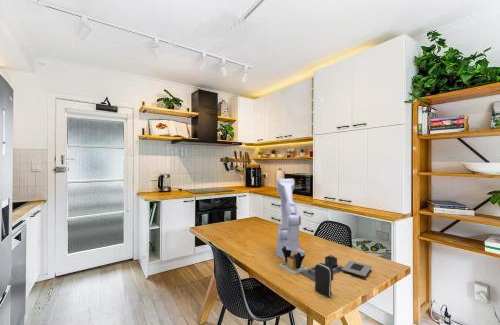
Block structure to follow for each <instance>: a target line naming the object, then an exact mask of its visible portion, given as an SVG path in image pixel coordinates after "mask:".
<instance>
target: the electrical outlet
mask: <svg viewBox="0 0 500 325" xmlns="http://www.w3.org/2000/svg"><path fill="white" fill-rule="evenodd" d="M342 267H343V268H342V269H341V270H342V271H341V272H345V273H347V274H348V273H349V274H351V275H355V276H358V277H362V278H365V277H366V276H367V275H368V273H369V272H370V271H371V269H372V267H373V265H368V264H365V263H361V262H358V261H353V260H348V262H346V263H345V265H343V266H342Z"/></svg>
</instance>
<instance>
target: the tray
mask: <svg viewBox="0 0 500 325" xmlns="http://www.w3.org/2000/svg"><path fill="white" fill-rule="evenodd" d="M278 266H279V267H280V268H282V269H284V270H286V271H287V272H289V273H290V274H292V275H296V274H300V273H302V272H304V271H307V270H308V267H307V266H304V265H303V264H301V267H300V268H299V269H295V270H291V269H290V268H288V267H287V263H286V261H285V262H282V263H279V264H278Z"/></svg>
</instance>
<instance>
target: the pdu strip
mask: <svg viewBox="0 0 500 325" xmlns="http://www.w3.org/2000/svg"><path fill="white" fill-rule="evenodd" d="M323 264H325V265H328V266H330V267H331V268H332V269H333V275H336V274H338V273H341V272H343V271H342V270H341V269H342V268H343V267H344V266H342V265H340V264H338V258H337V257H335V256H334V255H332V254H329V255H326V256H324V263H323ZM315 266H316V265H315ZM315 266H312V267H309V268H308V267H307V268H308V270H306V271H303V272H301V275H302V276H304V277H306V278H308V279H310V280H311V281H313V282H315Z"/></svg>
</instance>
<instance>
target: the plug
mask: <svg viewBox="0 0 500 325" xmlns="http://www.w3.org/2000/svg"><path fill="white" fill-rule="evenodd" d="M294 255H295V254H293V255H292V256H290V257H287V267H288V268H290V269H291V270H295V269H296V260H295V257H294Z"/></svg>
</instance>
